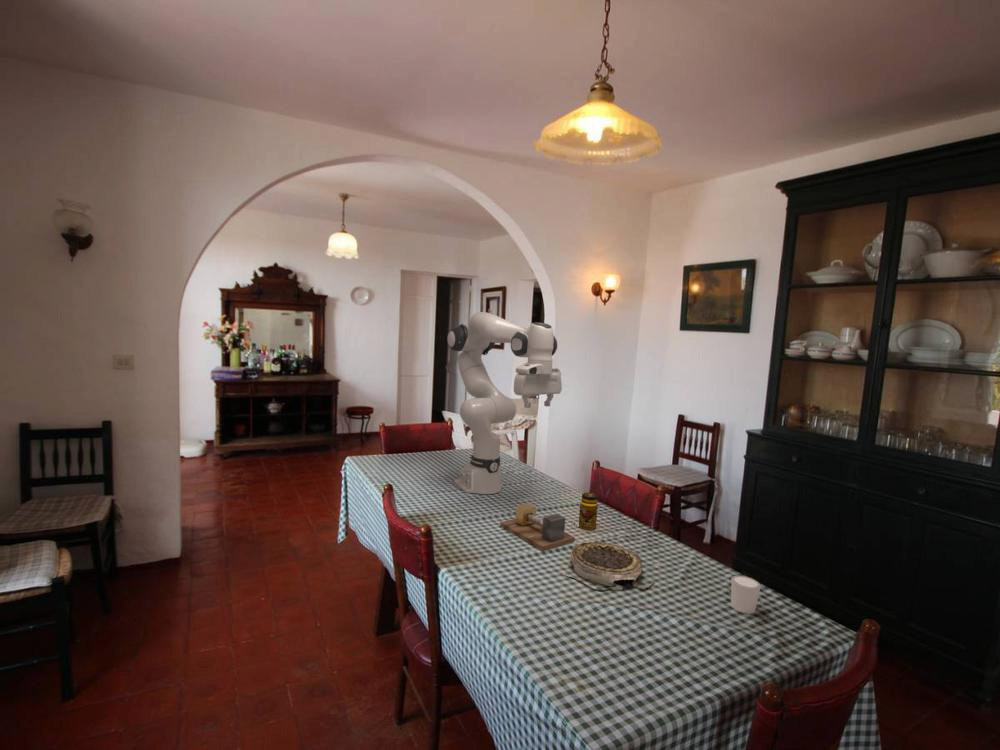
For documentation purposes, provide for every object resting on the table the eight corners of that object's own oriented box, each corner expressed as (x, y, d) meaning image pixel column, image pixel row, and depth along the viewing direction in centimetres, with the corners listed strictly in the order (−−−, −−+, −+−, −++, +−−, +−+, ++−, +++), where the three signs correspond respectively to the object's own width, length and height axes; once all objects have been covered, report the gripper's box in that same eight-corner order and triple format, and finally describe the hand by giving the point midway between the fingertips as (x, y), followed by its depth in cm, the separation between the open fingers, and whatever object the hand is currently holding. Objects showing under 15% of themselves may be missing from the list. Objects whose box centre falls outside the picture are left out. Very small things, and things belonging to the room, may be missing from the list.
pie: (539, 563, 149) (540, 547, 149) (598, 542, 167) (599, 528, 166) (616, 606, 128) (618, 587, 128) (674, 578, 146) (676, 561, 145)
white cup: (732, 597, 135) (735, 572, 134) (760, 607, 131) (763, 581, 130) (725, 607, 130) (728, 581, 129) (754, 618, 125) (757, 591, 125)
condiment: (582, 532, 173) (585, 498, 172) (571, 522, 181) (574, 490, 180) (601, 530, 175) (604, 497, 174) (590, 521, 183) (592, 489, 182)
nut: (515, 521, 174) (516, 506, 173) (527, 518, 177) (528, 503, 176) (522, 525, 170) (523, 509, 170) (535, 522, 174) (536, 507, 173)
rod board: (500, 526, 174) (501, 502, 173) (530, 518, 182) (532, 496, 181) (542, 551, 156) (544, 524, 155) (574, 541, 165) (576, 516, 164)
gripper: (554, 367, 188) (552, 404, 189) (512, 367, 176) (509, 407, 177) (566, 369, 183) (564, 406, 184) (523, 369, 171) (521, 409, 172)
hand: (537, 406), depth 180 cm, fingers open, 8 cm apart
